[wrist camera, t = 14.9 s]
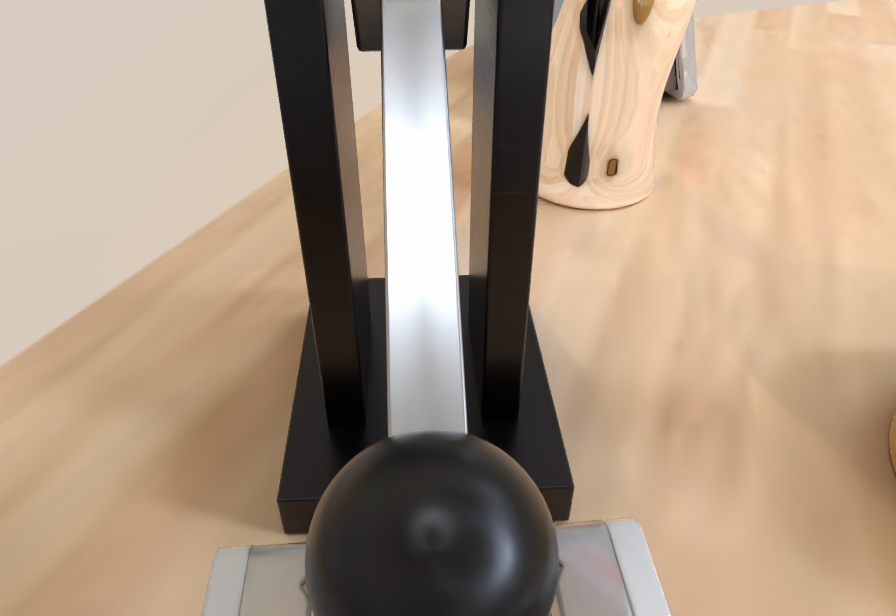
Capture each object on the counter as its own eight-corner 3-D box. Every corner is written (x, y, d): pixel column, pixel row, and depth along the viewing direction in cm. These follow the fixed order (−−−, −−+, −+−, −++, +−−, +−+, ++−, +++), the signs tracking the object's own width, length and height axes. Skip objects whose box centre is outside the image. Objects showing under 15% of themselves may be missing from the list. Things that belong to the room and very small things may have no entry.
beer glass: (634, 142, 35) (698, -236, 26) (689, 210, 30) (795, -239, 21) (497, 150, 34) (514, -236, 25) (528, 221, 29) (564, -239, 20)
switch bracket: (569, 520, 17) (681, -137, 9) (283, 534, 17) (125, -135, 9) (518, 303, 24) (555, -176, 16) (317, 310, 24) (248, -175, 16)
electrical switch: (698, 104, 39) (722, -82, 34) (612, 121, 39) (622, -65, 33) (624, 53, 47) (633, -107, 41) (550, 67, 46) (550, -93, 40)
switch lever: (548, 672, 11) (601, 711, 7) (321, 686, 10) (275, 731, 7) (485, -34, 16) (499, -189, 13) (332, -31, 16) (307, -188, 12)
